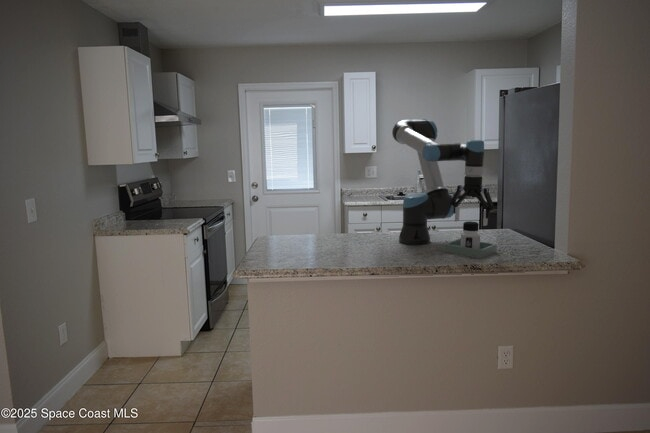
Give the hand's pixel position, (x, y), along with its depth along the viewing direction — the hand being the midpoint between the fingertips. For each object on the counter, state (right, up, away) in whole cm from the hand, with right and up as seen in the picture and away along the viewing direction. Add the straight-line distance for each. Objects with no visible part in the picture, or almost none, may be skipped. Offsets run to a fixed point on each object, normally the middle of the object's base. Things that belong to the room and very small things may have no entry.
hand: (470, 223), depth 223 cm
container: (0, -12, +2) cm, 13 cm away
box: (0, -13, +2) cm, 13 cm away
